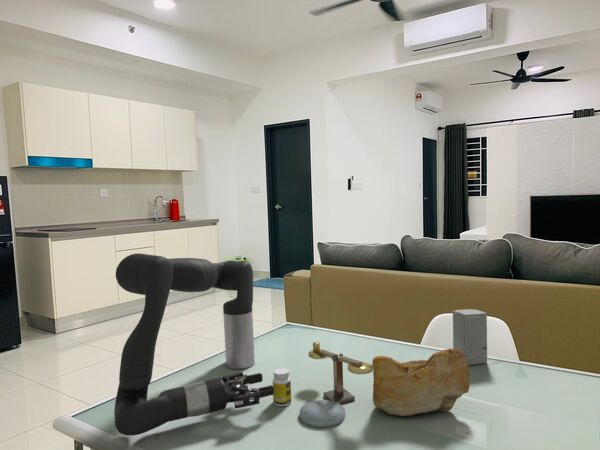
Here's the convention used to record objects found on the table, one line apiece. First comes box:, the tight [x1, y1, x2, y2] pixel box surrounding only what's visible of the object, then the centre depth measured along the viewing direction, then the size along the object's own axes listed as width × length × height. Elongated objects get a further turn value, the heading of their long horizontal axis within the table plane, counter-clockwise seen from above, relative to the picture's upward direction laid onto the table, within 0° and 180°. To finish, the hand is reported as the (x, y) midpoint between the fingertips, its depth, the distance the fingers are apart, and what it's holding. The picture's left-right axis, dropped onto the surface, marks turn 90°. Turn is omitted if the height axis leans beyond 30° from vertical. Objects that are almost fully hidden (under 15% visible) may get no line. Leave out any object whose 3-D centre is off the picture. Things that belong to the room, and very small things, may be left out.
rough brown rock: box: [371, 348, 471, 417], centre depth 111 cm, size 23×17×15 cm
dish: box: [299, 399, 346, 429], centre depth 107 cm, size 11×11×1 cm
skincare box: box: [452, 308, 488, 366], centre depth 137 cm, size 8×7×16 cm
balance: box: [307, 341, 373, 405], centre depth 115 cm, size 28×6×13 cm, turn 24°
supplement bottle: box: [272, 367, 292, 407], centre depth 114 cm, size 5×5×8 cm
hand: (267, 383), depth 113 cm, fingers open, 8 cm apart
